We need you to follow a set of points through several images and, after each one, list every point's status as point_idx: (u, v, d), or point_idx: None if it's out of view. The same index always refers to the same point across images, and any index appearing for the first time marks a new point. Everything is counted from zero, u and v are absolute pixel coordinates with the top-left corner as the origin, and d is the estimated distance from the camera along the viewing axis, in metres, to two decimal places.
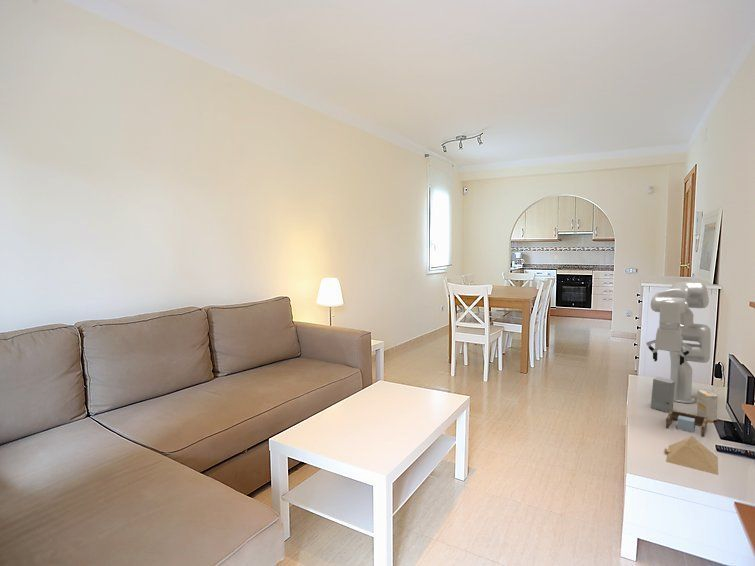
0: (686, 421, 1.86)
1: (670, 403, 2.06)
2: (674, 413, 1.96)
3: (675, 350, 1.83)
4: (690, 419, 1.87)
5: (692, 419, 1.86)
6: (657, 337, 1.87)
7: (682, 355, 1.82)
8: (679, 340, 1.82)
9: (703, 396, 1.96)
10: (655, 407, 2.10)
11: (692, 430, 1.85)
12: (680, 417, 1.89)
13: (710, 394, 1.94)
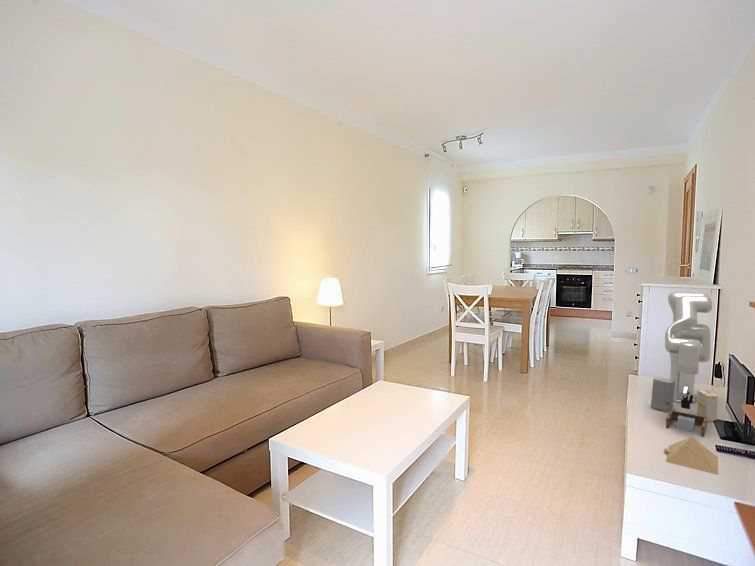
0: (686, 421, 1.86)
1: (670, 403, 2.06)
2: (674, 413, 1.96)
3: (693, 391, 1.87)
4: (690, 419, 1.87)
5: (692, 419, 1.86)
6: (692, 383, 1.81)
7: None
8: None
9: (703, 396, 1.96)
10: (655, 407, 2.10)
11: (692, 430, 1.85)
12: (680, 417, 1.89)
13: (710, 394, 1.94)
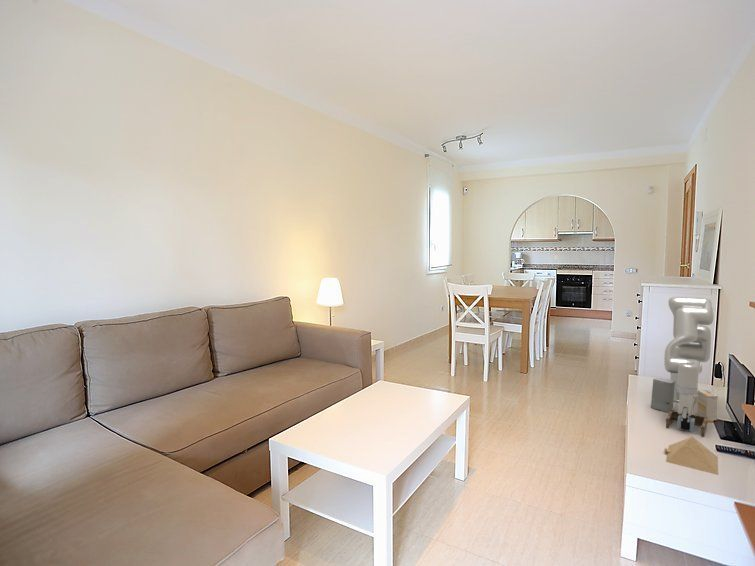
0: None
1: (670, 403, 2.06)
2: (674, 413, 1.96)
3: None
4: (690, 419, 1.87)
5: (692, 419, 1.86)
6: (691, 404, 1.82)
7: (690, 416, 1.89)
8: None
9: (703, 396, 1.96)
10: (655, 407, 2.10)
11: (692, 430, 1.85)
12: (680, 417, 1.89)
13: (710, 394, 1.94)
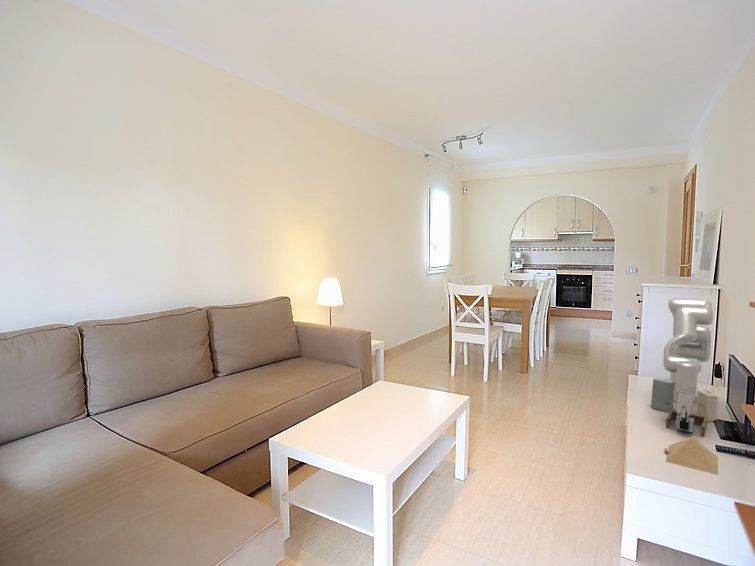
0: None
1: (670, 403, 2.06)
2: (674, 413, 1.96)
3: (691, 410, 1.85)
4: (689, 418, 1.84)
5: (691, 419, 1.83)
6: (690, 404, 1.79)
7: (689, 416, 1.86)
8: None
9: (703, 396, 1.96)
10: (655, 407, 2.10)
11: (691, 430, 1.81)
12: (679, 417, 1.86)
13: (710, 394, 1.94)
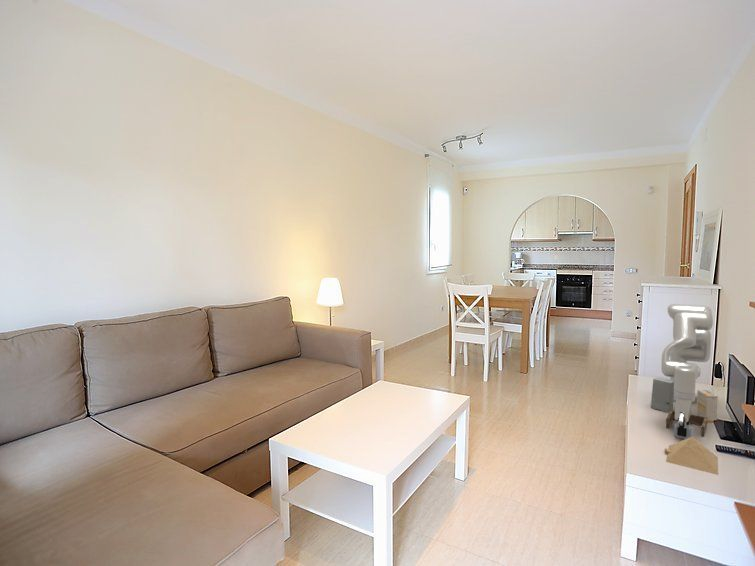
0: None
1: (670, 403, 2.06)
2: (674, 413, 1.96)
3: None
4: (688, 426, 1.80)
5: (689, 426, 1.79)
6: (688, 410, 1.75)
7: (688, 420, 1.83)
8: None
9: (703, 396, 1.96)
10: (655, 407, 2.10)
11: None
12: (677, 424, 1.82)
13: (710, 394, 1.94)
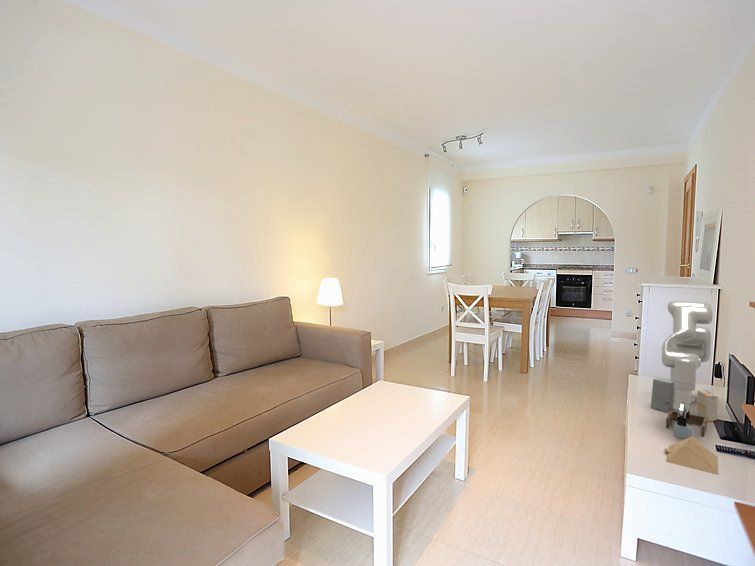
0: (683, 429, 1.79)
1: (670, 403, 2.06)
2: (674, 413, 1.96)
3: None
4: (688, 426, 1.80)
5: (689, 426, 1.79)
6: (688, 400, 1.75)
7: None
8: None
9: (703, 396, 1.96)
10: (655, 407, 2.10)
11: None
12: None
13: (710, 394, 1.94)
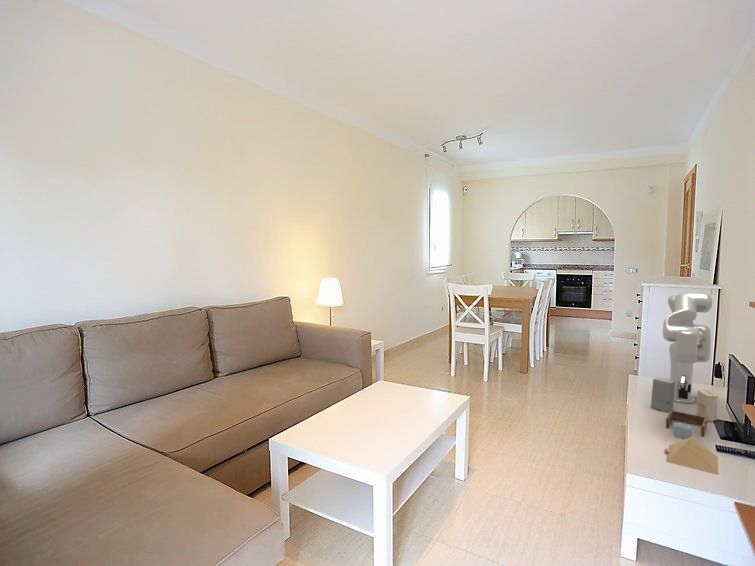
0: (683, 429, 1.79)
1: (670, 403, 2.06)
2: (674, 413, 1.96)
3: (691, 380, 1.80)
4: (688, 426, 1.80)
5: (689, 426, 1.79)
6: (690, 372, 1.75)
7: None
8: None
9: (703, 396, 1.96)
10: (655, 407, 2.10)
11: None
12: (677, 424, 1.82)
13: (710, 394, 1.94)
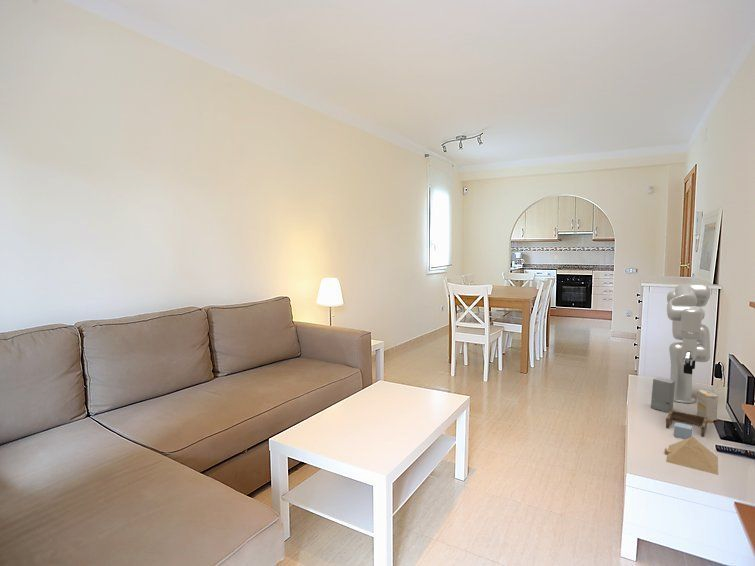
0: (683, 429, 1.79)
1: (670, 403, 2.06)
2: (674, 413, 1.96)
3: None
4: (688, 426, 1.80)
5: (689, 426, 1.79)
6: (694, 348, 1.84)
7: None
8: None
9: (703, 396, 1.96)
10: (655, 407, 2.10)
11: None
12: (677, 424, 1.82)
13: (710, 394, 1.94)
